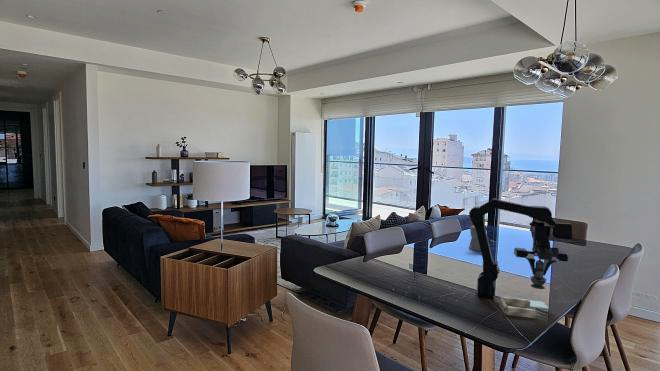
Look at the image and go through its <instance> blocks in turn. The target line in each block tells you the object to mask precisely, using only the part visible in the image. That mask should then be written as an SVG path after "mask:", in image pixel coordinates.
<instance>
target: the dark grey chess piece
mask: <svg viewBox="0 0 660 371" xmlns="http://www.w3.org/2000/svg"><path fill="white" fill-rule="evenodd" d="M543 265H544V261H542V260H541V259H539V258H538V260H535V274H534V275H532V276H530V281H531V283H532V284H530V287H531V288H533V289H536V290H545V289H546V287H545V286H544V285H545V284H546V282H547V278H545V277H544V276H543V271H544V269H543Z"/></svg>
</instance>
